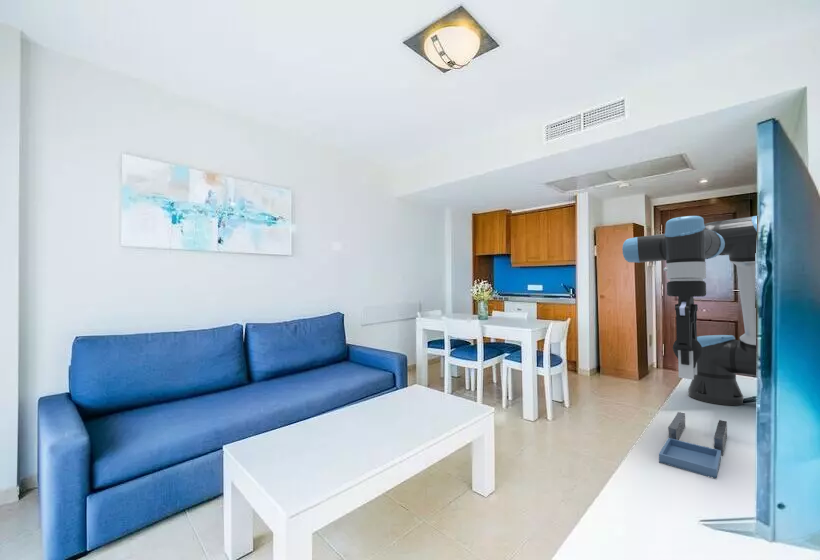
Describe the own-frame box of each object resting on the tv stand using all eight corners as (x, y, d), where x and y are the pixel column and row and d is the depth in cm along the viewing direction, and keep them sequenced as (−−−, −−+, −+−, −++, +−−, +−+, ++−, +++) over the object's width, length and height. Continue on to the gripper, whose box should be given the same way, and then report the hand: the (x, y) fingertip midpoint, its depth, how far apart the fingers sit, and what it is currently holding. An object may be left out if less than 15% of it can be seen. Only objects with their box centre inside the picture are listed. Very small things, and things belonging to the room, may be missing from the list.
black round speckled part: (704, 382, 80) (702, 339, 80) (673, 378, 83) (672, 337, 84) (702, 377, 84) (701, 336, 85) (673, 374, 88) (672, 334, 88)
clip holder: (678, 425, 103) (678, 411, 103) (727, 436, 95) (726, 421, 95) (668, 442, 91) (668, 427, 92) (723, 456, 84) (722, 439, 84)
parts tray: (668, 445, 90) (668, 437, 90) (721, 458, 83) (720, 450, 83) (659, 462, 81) (658, 453, 81) (716, 479, 74) (716, 469, 74)
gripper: (673, 281, 94) (675, 367, 93) (659, 279, 81) (661, 380, 80) (709, 280, 88) (712, 372, 88) (700, 279, 75) (703, 386, 75)
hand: (688, 375), depth 84 cm, fingers closed on black round speckled part, 6 cm apart
